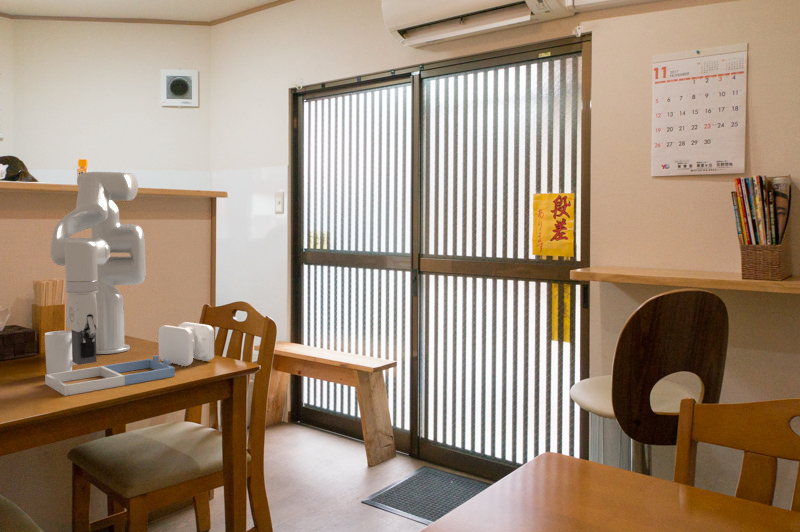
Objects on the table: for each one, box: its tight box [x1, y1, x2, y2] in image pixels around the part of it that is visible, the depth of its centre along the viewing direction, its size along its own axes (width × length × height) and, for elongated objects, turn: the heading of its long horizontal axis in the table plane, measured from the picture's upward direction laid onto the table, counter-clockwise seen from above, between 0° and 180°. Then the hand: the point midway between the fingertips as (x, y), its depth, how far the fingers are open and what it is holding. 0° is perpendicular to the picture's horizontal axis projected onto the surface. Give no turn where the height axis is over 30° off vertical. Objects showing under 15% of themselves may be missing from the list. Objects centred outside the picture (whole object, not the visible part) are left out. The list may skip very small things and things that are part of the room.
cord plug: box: [70, 328, 97, 366], centre depth 162 cm, size 4×4×12 cm
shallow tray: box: [44, 354, 176, 397], centre depth 168 cm, size 16×28×4 cm, turn 136°
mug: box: [44, 330, 77, 375], centre depth 173 cm, size 10×7×12 cm, turn 100°
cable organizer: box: [157, 321, 215, 367], centre depth 190 cm, size 15×11×12 cm
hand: (84, 354), depth 163 cm, fingers closed on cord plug, 4 cm apart
